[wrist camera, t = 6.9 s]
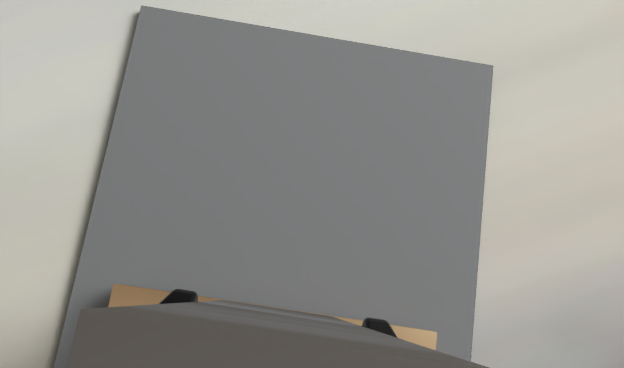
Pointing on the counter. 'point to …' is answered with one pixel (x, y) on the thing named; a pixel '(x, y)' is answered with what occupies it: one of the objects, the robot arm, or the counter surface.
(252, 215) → the lane mat
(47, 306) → the counter surface
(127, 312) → the wooden base with post
